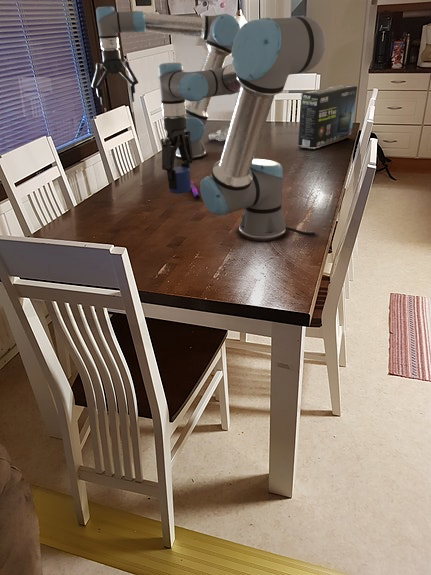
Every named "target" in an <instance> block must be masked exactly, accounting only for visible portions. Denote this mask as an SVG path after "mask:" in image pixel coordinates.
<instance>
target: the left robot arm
mask: <svg viewBox="0 0 431 575" xmlns="http://www.w3.org/2000/svg"><path fill="white" fill-rule="evenodd" d="M95 13H96V14H95V15H96V23H97V30H98V36H99V43H100V49H101V56H102V63H99V62H96V63H95V72H94V75H93V79H92V82H91V88H93V89H96V95H97V97H98V98H99V99H100V105H102V106H104V105H105V101H104V96H103V89H102V88H101V87H102V86H103V84H104V82H105V80H106V79H107V77H108V75H114V74H116V75H117V74H120V75H121V76H122V77H123V78H124V79H125V80H126V81H127V82H128V84H130V85H128V87H129V95H130V96H129V97H130V102H131V103H135V98H134V97H135V96H134V94H136V88H135V86H136V85H138V84H139V81H138V79H137V77H136V74H134V72H133V70H132V68H131V67H130V62H129V61H127V60H124V61H122V58H121V51H120V44H119V43H120V42H119V36H118V33H119V34H123V33H124V34H125V33H126V34H128V33H146V34H147V33H148V34H157V35H158V34H159V35H171V36H183V37H192V38H193V37H194V38H200V39H201V40H202V41H206V42H205V46H206V47H207V48H206V49H207V50H206V54H205V56H204V59H203V62H202V65H201V68H200V71H205V70H214V69H220V68H223V67H224V64H225V61H226V59H227V57H229V56H232V46H233V42H234V39H235V37H236V34H237V33H238V31H239V30H240V28H241V25H240V24H239V21H238V20H237V18H235V17H234V16H233V15H231V14H228V13H223V14H222V13H221V14H216V15H203V16H202V17H198V16H197V17H196V16H187V15H176V14H175V15H174V14H164V13H163V14H162V13H154V12H153V13H151V12H144V11H142V10H130V11H129V10H128V11H116V10H115V7H114V6H98V7H96V9H95ZM123 67H124V68H125V69H126V71H127V72H128V74H129V76H130V77H131V78H130V77H129V76H128V75H127V74H126V72H124V70H122V68H123ZM102 68H103V69H104V71H103V73H102V74H101V76H100V79H99V75H100V72H101V69H102ZM98 79H99V80H98ZM212 98H213V97H208V98H203V99H202V100H201V101H193V102H191V101H189V103H188V104H187V105H185V106H186V115H184V116H185V117H186V122H187V128H186V129H184V130H185V131H190V140H191V147H192V153H193V160H196V159H201V158H204V157H205V156H206V155H207V149H206V148H205V145H204V143H203V142H204V141H203V140H202V138H203V137H204V135H205V131H206V124H207V123H208V118H209V114H208V109H209V107H210V104H211V101H212ZM189 156H190V155H189ZM175 158H177V159H181V160H182V157H181V154H180V151H179V149H177V150H176V155H175Z"/></svg>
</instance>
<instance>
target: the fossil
mask: <svg viewBox="0 0 431 575" xmlns="http://www.w3.org/2000/svg"><path fill="white" fill-rule="evenodd" d="M229 127H230V125H229V126H228V125H222V126H221V128H220V129H218V130H217V131H216V132H214V131H213V132H210V133H209V134H208V139H209V140H210V141H217V140H218V141H217V142H226V138H227V134H228V130H229Z"/></svg>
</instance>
